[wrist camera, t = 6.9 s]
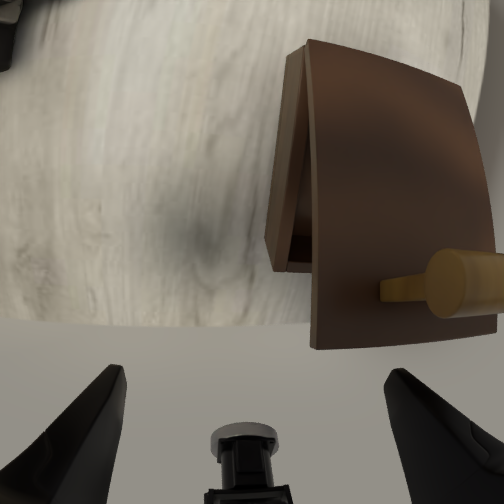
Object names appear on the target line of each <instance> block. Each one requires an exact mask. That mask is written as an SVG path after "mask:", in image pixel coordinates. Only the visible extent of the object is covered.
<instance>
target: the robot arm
mask: <svg viewBox="0 0 504 504" xmlns="http://www.w3.org/2000/svg"><path fill="white" fill-rule="evenodd" d="M126 390H127V382H126V378H125V373H124V369H123V367H122V366H121V365H115V364H110V365H109V366H108V367H106V369H105V370H104V371H103V372H102V373H101V374H100V375H99V376H98V377H97V378H96V379H95V380H94V381H93V382H92V383H91V384H90V385H89V386H88V387H87V388H86V389H85V390H84V391H83V392H82V393H81V394H80V395H79V396H78V397H77V398H76V399H75V400H74V401H73V402H72V403H71V404H70V405H69V406H68V407H67V408H66V409H65V410H64V411H63V412H62V414H60V415H59V416H58V417H57V419H55V420H54V422H53V423H52V424H51V425H50V426H49V427H48V428H47V429H46V430H45V432H43V433H42V434H41V435H40V436H39V437H38V438H37V439H36V440H35V441H34V442H33V443H32V444H31V445H30V446H29V447H28V448H27V449H26V450H24V451H23V452H22V453H21V454H20V455H19V456H18V457H16V458H15V459H14V460H13V461H11V462H10V463H9V464H8V465H6V466H5V467H4V468H3V469H1V470H0V504H106V503H107V497H108V492H109V486H110V482H111V477H112V472H113V467H114V462H115V458H116V453H117V448H118V444H119V440H120V435H121V430H122V424H123V414H124V406H125V397H126ZM384 394H385V398H386V403H387V408H388V414H389V419H390V423H391V428H392V431H393V435H394V438H395V442H396V445H397V449H398V452H399V456H400V459H401V463H402V467H403V470H404V473H405V478H406V482H407V485H408V489H409V493H410V497H411V501H412V504H504V443H503V442H501V441H499V440H498V439H496V438H495V437H493V436H492V435H490V434H489V433H487V432H486V431H484V430H483V429H482V428H480V427H479V426H478V425H476V424H475V423H474V422H473V421H470V419H469V418H467V417H466V416H465V415H463V414H462V413H461V412H460V411H458V410H457V409H456V408H454V407H453V406H452V405H451V404H449V403H448V402H447V401H445V400H444V399H443V398H442V397H440V396H439V395H438V394H436V393H435V392H434V391H433V390H431V389H430V388H429V387H427V386H426V385H425V384H424V383H422V382H421V381H420V380H418V379H417V378H416V377H415V376H413V375H412V374H411V373H409V372H408V371H407V370H405V369H404V368H397V369H393V370H392V371H391V373H390V375H389V376H388V378H387V380H386V382H385V384H384ZM275 444H276V438H273V437H270V438H219V439H218V451H217V463H221V465H222V466H221V467H222V489H220V490H219V489H217V490H216V489H209V492H208V493H205V494H204V504H293V501H292V497H291V493H290V489H289V485H283V486H275V487H274V482H273V474H272V467H271V460H270V457H271V455H272V452H273V449H274V446H275Z"/></svg>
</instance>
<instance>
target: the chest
mask: <svg viewBox="0 0 504 504" xmlns="http://www.w3.org/2000/svg"><path fill="white" fill-rule="evenodd" d="M304 48H305V45H304V46H302V47H300V48H299V49H297V50H296V51H294V52H292V53H291V54H289V55H287V57H286V66H285V75H284V83H283V91H282V100H281V108H280V116H279V125H278V133H277V141H276V149H275V157H274V165H273V173H272V181H271V189H270V197H269V205H268V213H267V220H266V228H265V236H264V239H265V243H266V246H267V250H268V254H269V257H270V261H271V265H272V269H273V271H274V272H293V273H312V182H311V150H310V127H309V108H308V92H307V77H306V64H305V52H304Z"/></svg>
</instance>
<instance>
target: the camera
mask: <svg viewBox="0 0 504 504" xmlns="http://www.w3.org/2000/svg"><path fill="white" fill-rule="evenodd" d="M22 6H23V0H0V72H3V71H6V70H8V69H9V68H10V64H11V56H12V49H13V43H14V37H15V32H16V26H17V21H18V18H19V14H20V12H21V9H22Z"/></svg>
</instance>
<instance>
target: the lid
mask: <svg viewBox="0 0 504 504" xmlns="http://www.w3.org/2000/svg"><path fill="white" fill-rule="evenodd" d="M304 52H305V64H306V77H307V92H308V108H309V127H310V150H311V182H312V294H311V327H310V347H311V348H314V349H316V350H330V349H353V348H370V347H383V346H397V345H407V344H418V343H428V342H437V341H445V340H453V339H460V338H467V337H474V336H481V335H487V334H493V333H496V332H497V314H498V313H504V254H502V253H496V248H495V238H494V228H493V220H492V212H491V205H490V199H489V193H488V188H487V181H486V176H485V172H484V167H483V162H482V157H481V153H480V149H479V145H478V141H477V137H476V134H475V130H474V126H473V123H472V119H471V116H470V113H469V109H468V106H467V103H466V100H465V97H464V94H463V91H462V88H461V86H459V85H456V84H454V83H452V82H450V81H447V80H445V79H443V78H440V77H438V76H435V75H433V74H430V73H428V72H425V71H422V70H420V69H417V68H414V67H411V66H409V65H406V64H403V63H400V62H397V61H394V60H391V59H388V58H384V57H381V56H378V55H374V54H371V53H367V52H364V51H360V50H356V49H352V48H348V47H344V46H340V45H336V44H332V43H327V42H322V41H317V40H312V39H308V40H307V43H306V45H305V48H304Z"/></svg>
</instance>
